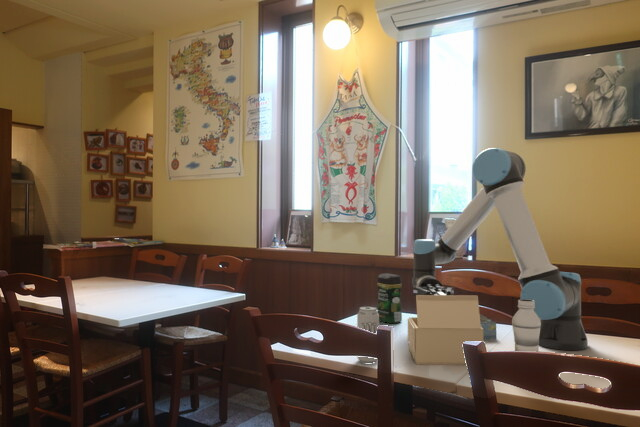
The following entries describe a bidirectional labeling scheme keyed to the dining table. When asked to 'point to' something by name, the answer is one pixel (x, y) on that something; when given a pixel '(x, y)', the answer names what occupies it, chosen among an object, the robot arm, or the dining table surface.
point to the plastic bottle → (526, 326)
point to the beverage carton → (488, 328)
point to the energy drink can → (368, 325)
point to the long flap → (448, 311)
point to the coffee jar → (389, 298)
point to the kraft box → (439, 343)
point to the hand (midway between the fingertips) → (443, 299)
